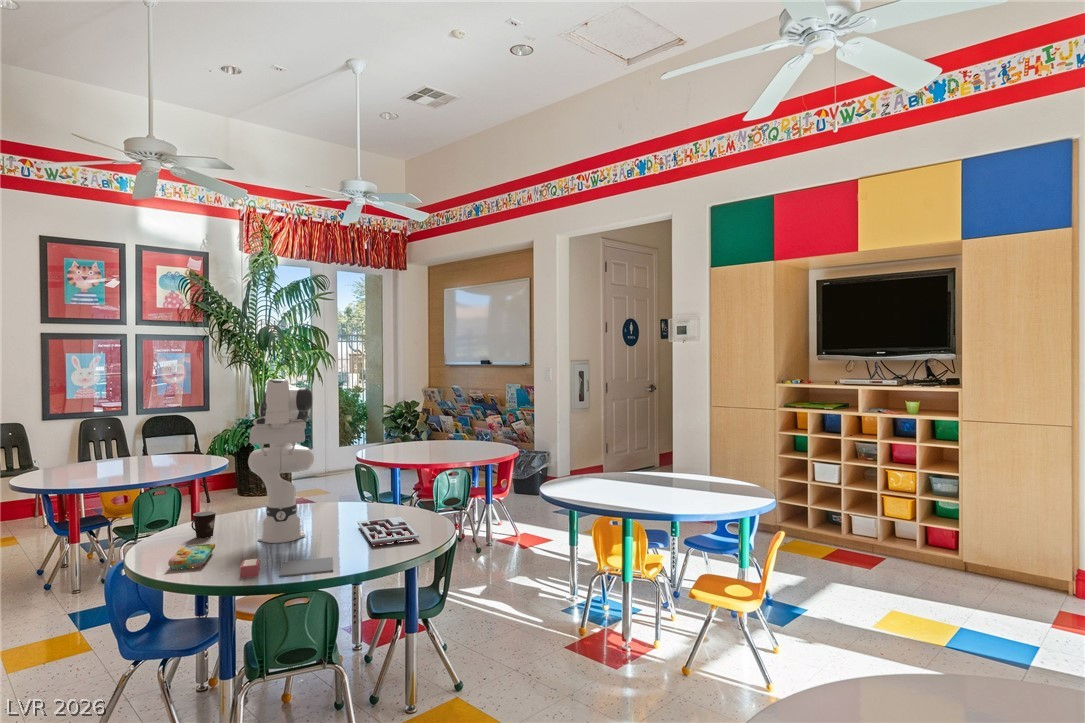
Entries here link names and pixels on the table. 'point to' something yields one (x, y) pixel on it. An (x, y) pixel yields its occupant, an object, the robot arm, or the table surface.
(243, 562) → the card deck
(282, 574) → the mat
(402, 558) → the table surface
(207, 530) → the coffee mug
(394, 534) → the maze game
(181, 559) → the puzzle game
